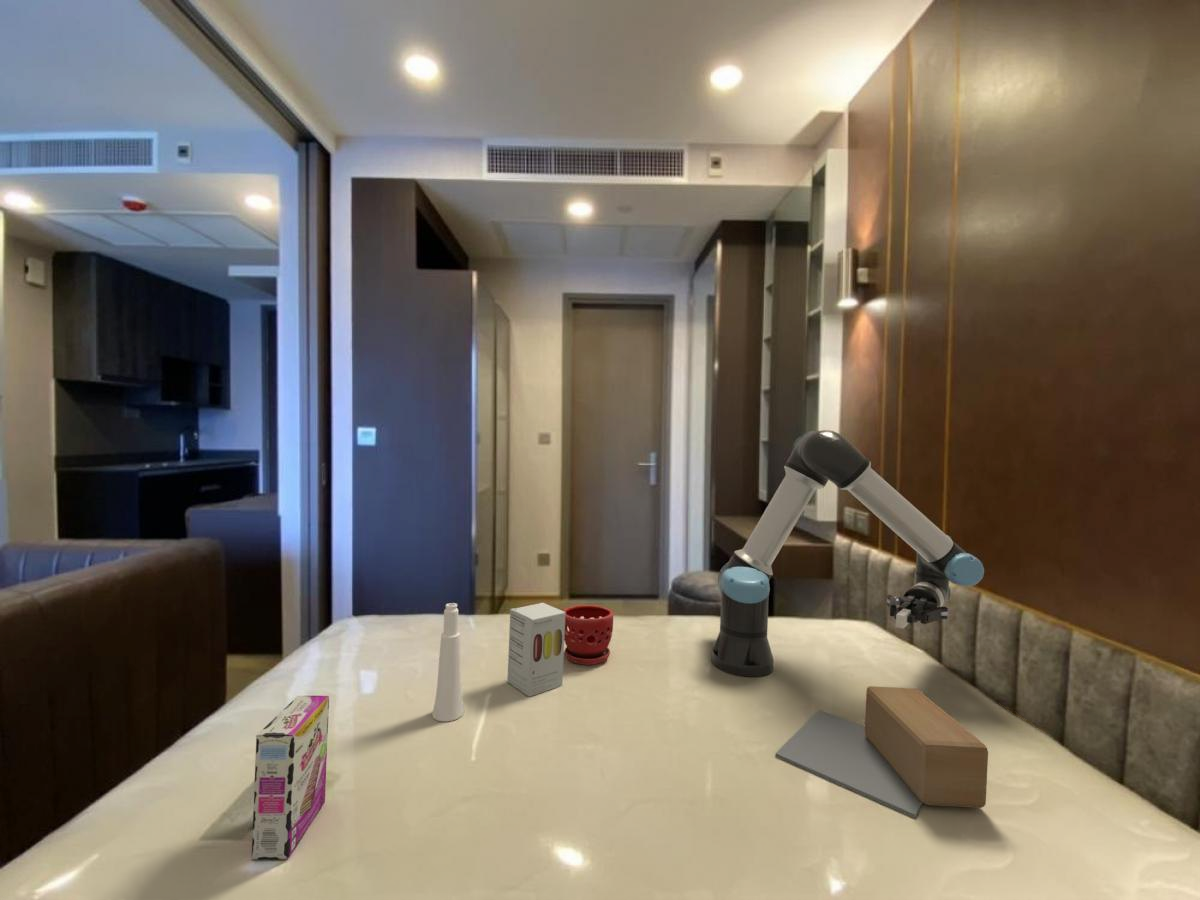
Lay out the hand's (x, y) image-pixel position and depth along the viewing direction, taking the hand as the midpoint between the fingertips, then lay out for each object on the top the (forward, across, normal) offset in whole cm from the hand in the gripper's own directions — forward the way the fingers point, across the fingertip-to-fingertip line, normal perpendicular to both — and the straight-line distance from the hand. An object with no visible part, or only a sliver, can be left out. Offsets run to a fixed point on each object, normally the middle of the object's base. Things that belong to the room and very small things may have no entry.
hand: (899, 621), depth 113 cm
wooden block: (+15, -2, -13) cm, 20 cm away
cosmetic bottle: (+69, +64, -21) cm, 97 cm away
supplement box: (+48, +62, -20) cm, 81 cm away
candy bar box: (+101, +52, -21) cm, 116 cm away
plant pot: (+29, +64, -20) cm, 73 cm away
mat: (+25, 0, -19) cm, 31 cm away
